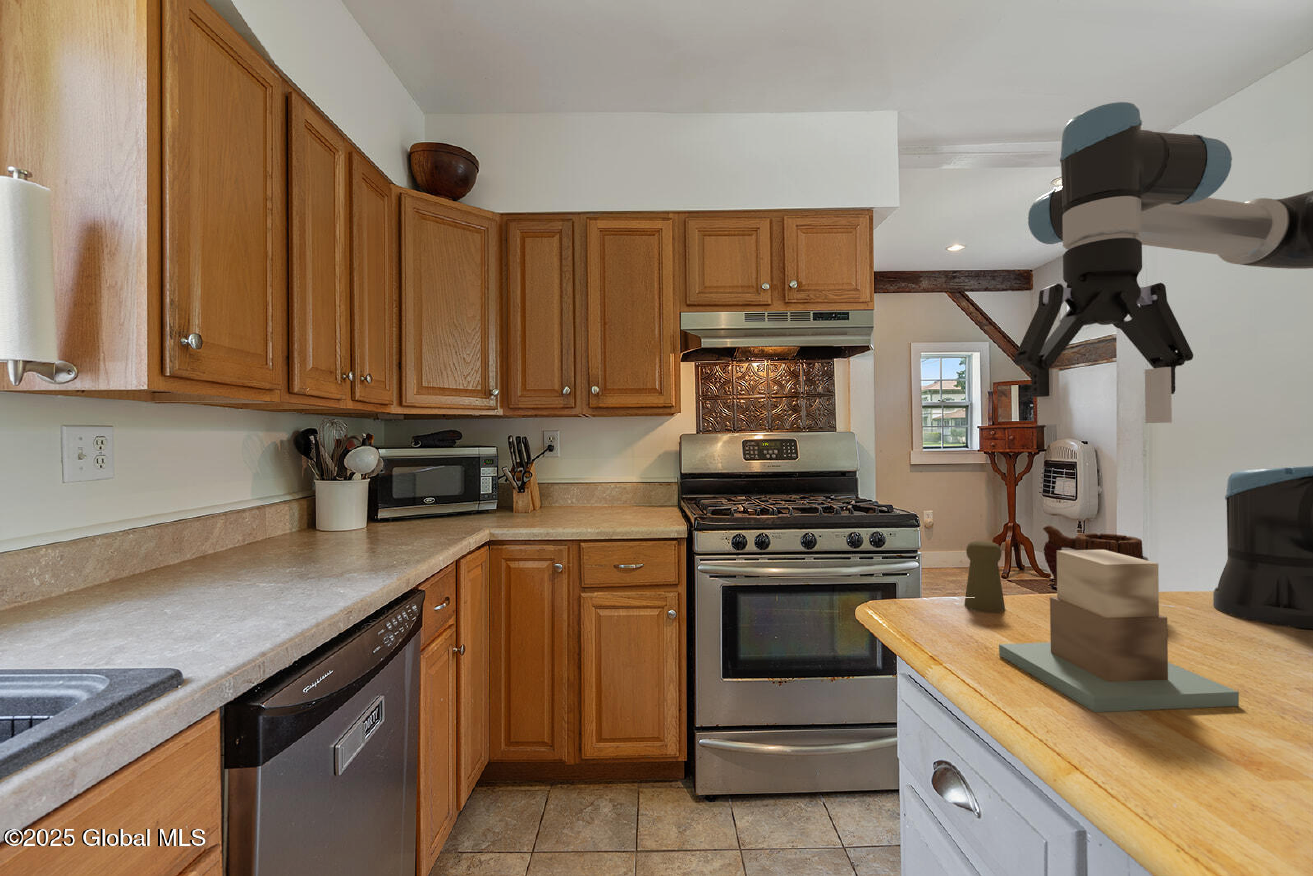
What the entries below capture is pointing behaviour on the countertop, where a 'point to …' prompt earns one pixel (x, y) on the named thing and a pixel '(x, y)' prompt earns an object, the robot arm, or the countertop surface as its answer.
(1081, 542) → the mug
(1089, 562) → the maple cap block
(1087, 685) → the baseplate
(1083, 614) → the walnut brick
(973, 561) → the olive pepper shaker
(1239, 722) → the countertop surface
